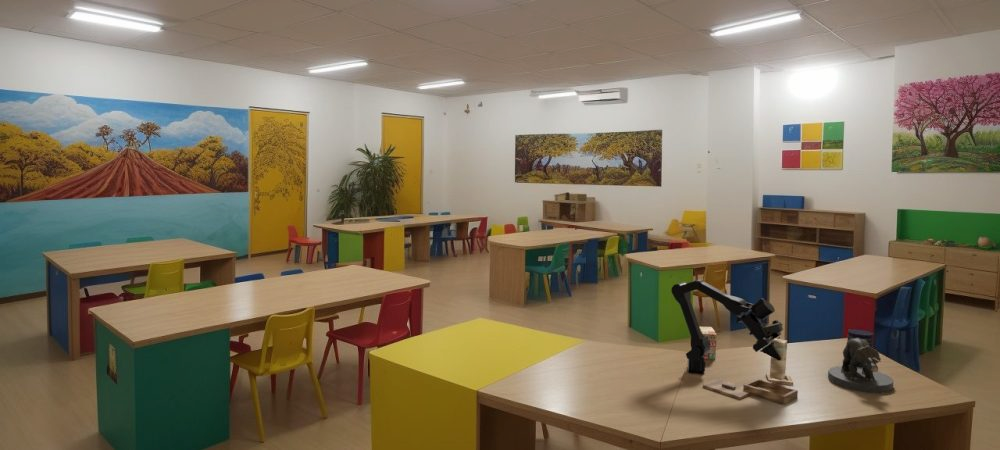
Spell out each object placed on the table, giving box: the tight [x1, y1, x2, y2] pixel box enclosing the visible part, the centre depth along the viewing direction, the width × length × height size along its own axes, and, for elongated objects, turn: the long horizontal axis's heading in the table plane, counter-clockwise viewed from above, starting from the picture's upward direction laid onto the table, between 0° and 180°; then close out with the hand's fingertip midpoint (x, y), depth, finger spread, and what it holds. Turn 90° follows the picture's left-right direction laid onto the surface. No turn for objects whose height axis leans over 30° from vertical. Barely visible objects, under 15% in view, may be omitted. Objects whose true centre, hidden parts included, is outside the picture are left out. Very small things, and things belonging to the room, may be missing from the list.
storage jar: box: [847, 328, 874, 368], centre depth 268 cm, size 10×10×15 cm
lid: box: [702, 378, 752, 400], centre depth 236 cm, size 16×11×2 cm
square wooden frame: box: [765, 371, 794, 386], centre depth 248 cm, size 9×9×1 cm
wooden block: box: [769, 338, 788, 380], centre depth 235 cm, size 5×5×15 cm
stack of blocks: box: [699, 325, 718, 360], centre depth 284 cm, size 21×6×12 cm, turn 171°
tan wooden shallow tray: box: [742, 378, 799, 406], centre depth 232 cm, size 16×11×3 cm
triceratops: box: [827, 338, 895, 394], centre depth 246 cm, size 23×35×18 cm, turn 167°
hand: (782, 358), depth 234 cm, fingers closed on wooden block, 4 cm apart
